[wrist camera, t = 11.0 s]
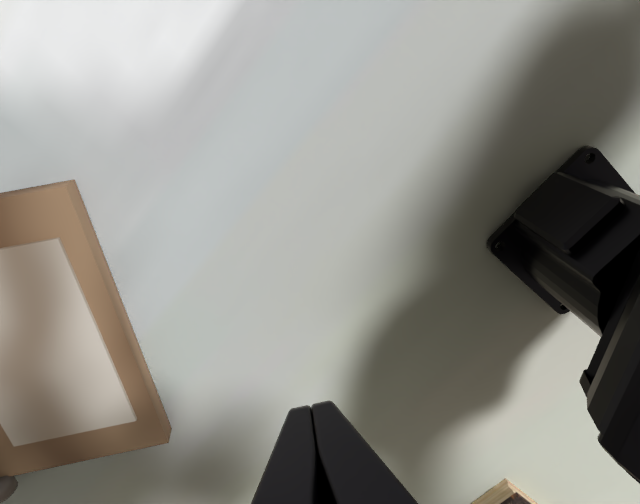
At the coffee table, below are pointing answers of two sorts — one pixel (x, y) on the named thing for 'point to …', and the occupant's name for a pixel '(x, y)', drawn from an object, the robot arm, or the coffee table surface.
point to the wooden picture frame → (65, 342)
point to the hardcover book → (504, 495)
